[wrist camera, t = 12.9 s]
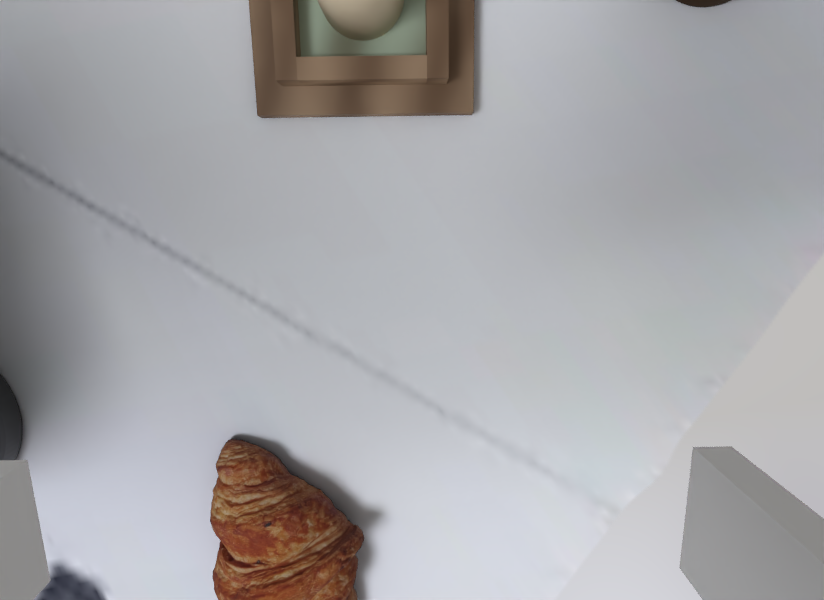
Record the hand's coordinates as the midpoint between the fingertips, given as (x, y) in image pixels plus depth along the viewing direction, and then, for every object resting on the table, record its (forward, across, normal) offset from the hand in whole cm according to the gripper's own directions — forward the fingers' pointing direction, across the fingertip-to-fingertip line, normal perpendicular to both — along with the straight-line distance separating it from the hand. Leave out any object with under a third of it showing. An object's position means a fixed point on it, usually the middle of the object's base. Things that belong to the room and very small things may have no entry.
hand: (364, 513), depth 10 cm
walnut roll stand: (+32, -2, +20) cm, 38 cm away
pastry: (+32, -10, -24) cm, 42 cm away
